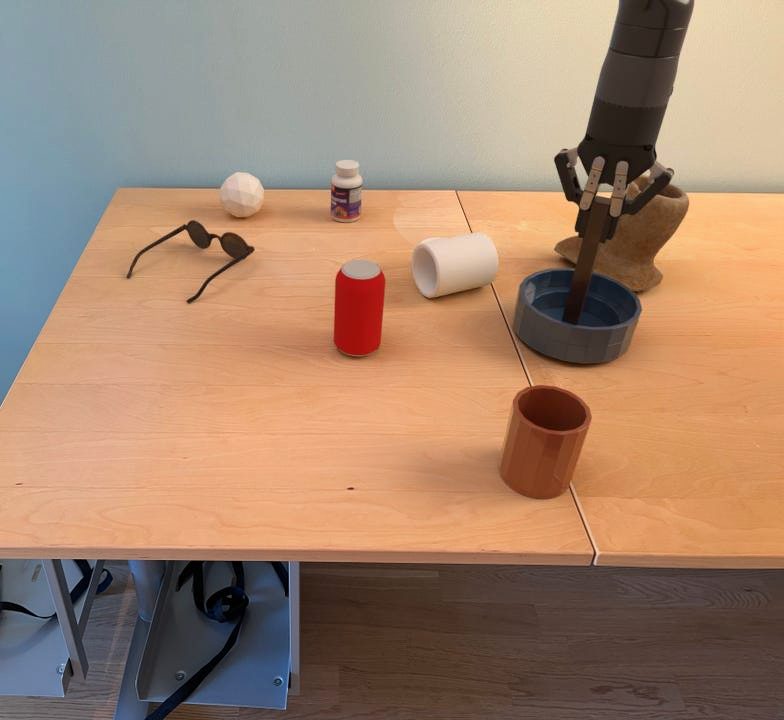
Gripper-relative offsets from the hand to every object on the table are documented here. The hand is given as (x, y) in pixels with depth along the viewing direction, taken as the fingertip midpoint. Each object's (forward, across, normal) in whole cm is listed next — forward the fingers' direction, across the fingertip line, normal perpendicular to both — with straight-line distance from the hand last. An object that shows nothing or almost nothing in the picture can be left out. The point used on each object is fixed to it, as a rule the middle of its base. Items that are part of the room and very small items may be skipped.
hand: (593, 237), depth 86 cm
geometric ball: (+15, -60, +7) cm, 62 cm away
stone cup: (+15, +1, +21) cm, 26 cm away
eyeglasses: (+15, -55, -14) cm, 58 cm away
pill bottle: (+15, -44, +16) cm, 49 cm away
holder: (+15, +4, -28) cm, 32 cm away
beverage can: (+15, -23, -18) cm, 32 cm away
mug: (+15, -20, +4) cm, 25 cm away
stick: (+13, 0, 0) cm, 13 cm away
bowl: (+15, 0, 0) cm, 15 cm away
